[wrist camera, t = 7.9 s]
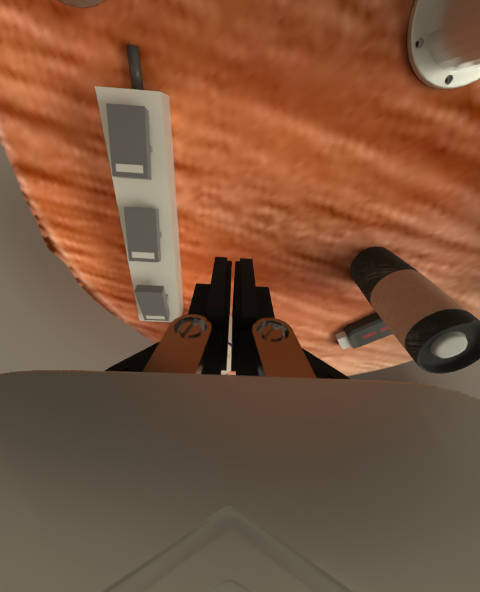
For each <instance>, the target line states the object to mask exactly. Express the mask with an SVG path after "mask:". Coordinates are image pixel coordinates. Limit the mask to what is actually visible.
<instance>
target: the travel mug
mask: <svg viewBox="0 0 480 592" xmlns="http://www.w3.org/2000/svg"><path fill="white" fill-rule="evenodd" d="M350 271H351V276H352V278H353V280H354V281H355V283H356V284H357V285H358V287H359V288H360V290H361V291H362V293H363V294H364V296H365V297H366V298H367V300H368V301H369V303H370V304H371V306H372V307H373V308H374V310H375V311H376V312H377V314H378V315H379V316H380V317H381V319H382V320H383V321H384V323H385V324H386V325H387V326H388V328H389V329H390V330H391V331H392V333H393V334H394V335H395V337H396V338H397V339H398V340H399V342H400V343H401V344H402V345H403V347H404V348H405V349H406V351H407V352H408V353H409V354H410V356H411V357H412V358H413V360H414V361H415V362H416V363H417V365H419V367H421V368H422V369H423V370H425V371H427V372H430V373H449V372H454V371H457V370H460V369H462V368H465V367H467V366H469V365H471V364H473V363H474V362H476V361H477V360H479V359H480V321H479V320H478V319H477V318H476V317H475V316H473V315H472V314H471V313H470V312H468V311H467V310H466V309H465V308H463V307H462V306H461V305H460V304H458V303H457V302H456V301H455V300H453V299H452V298H451V297H450V296H448V295H447V294H446V293H445V292H444V291H442V290H441V289H440V288H439V287H437V286H436V285H435V284H434V283H432V282H431V281H430V280H429V279H427V278H426V277H425V276H424V275H422V274H421V273H420V272H419V271H417V270H416V269H414V268H413V267H412V266H410V265H409V264H407V263H406V262H405V261H403V260H402V259H400V258H399V257H398V256H396V255H395V254H393V253H392V252H390V251H389V250H387V249H385V248H382V247H372V248H369V249H366V250H364V251H363V252H361V253H360V254H359V255H358V256H357V257H356V258H355V259H354V260H353V262H352V265H351V269H350Z"/></svg>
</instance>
